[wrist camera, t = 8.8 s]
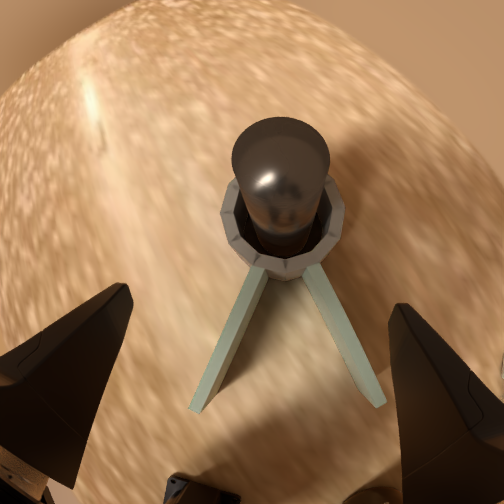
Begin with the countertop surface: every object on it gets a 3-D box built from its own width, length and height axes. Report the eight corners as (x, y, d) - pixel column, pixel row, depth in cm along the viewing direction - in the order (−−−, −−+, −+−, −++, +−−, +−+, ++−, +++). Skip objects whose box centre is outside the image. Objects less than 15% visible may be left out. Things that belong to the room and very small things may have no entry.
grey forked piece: (354, 423, 20) (370, 448, 15) (194, 387, 22) (172, 405, 17) (399, 211, 23) (423, 189, 18) (247, 177, 25) (239, 147, 20)
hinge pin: (303, 261, 23) (321, 211, 11) (251, 250, 24) (220, 191, 12) (313, 212, 24) (335, 126, 12) (263, 202, 24) (245, 111, 12)
